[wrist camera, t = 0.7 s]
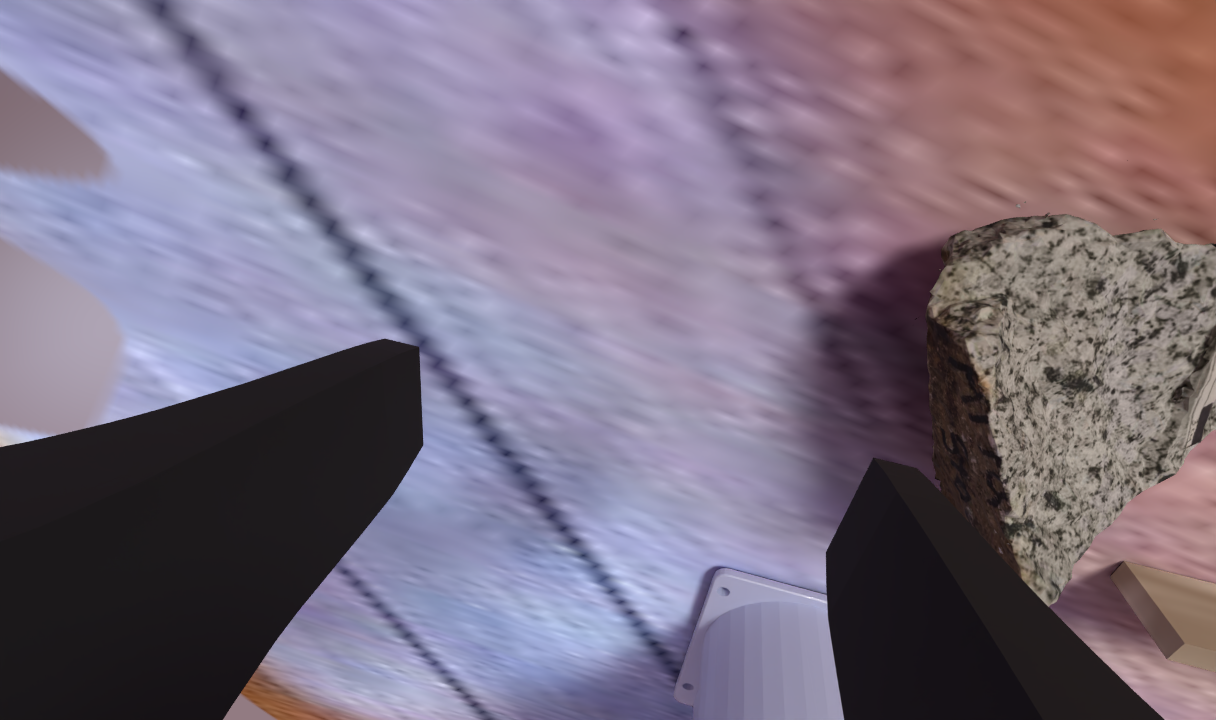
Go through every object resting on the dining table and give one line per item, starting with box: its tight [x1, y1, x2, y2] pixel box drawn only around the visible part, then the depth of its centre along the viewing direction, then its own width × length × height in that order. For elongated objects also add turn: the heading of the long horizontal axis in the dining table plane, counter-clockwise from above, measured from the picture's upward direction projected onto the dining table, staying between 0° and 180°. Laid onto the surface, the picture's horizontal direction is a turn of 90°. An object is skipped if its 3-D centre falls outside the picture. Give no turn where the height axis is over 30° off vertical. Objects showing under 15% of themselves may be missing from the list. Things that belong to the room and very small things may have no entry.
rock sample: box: [915, 160, 1216, 607], centre depth 14 cm, size 10×8×9 cm
